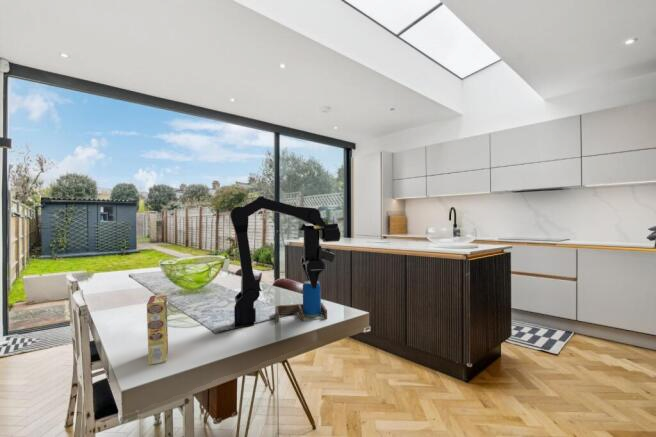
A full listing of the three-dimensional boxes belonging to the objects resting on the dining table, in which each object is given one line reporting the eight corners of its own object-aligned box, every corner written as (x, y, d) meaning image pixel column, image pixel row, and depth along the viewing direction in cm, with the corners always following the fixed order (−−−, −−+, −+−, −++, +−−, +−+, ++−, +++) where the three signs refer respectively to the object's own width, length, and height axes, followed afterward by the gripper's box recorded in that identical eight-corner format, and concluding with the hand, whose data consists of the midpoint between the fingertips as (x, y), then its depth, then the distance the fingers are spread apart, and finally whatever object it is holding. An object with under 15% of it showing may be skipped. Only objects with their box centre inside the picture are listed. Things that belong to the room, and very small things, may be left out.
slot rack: (276, 322, 111) (276, 313, 111) (275, 313, 121) (275, 305, 121) (327, 318, 114) (327, 310, 114) (321, 310, 124) (321, 302, 124)
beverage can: (320, 317, 114) (320, 283, 114) (302, 317, 115) (301, 283, 114) (321, 312, 121) (320, 279, 121) (303, 312, 121) (303, 280, 121)
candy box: (166, 362, 81) (165, 301, 81) (147, 365, 80) (146, 303, 79) (168, 349, 89) (167, 293, 89) (151, 352, 88) (150, 295, 88)
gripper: (339, 244, 110) (339, 290, 110) (328, 240, 128) (328, 279, 128) (306, 245, 108) (307, 292, 108) (300, 241, 126) (300, 281, 126)
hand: (312, 285), depth 118 cm, fingers open, 9 cm apart
